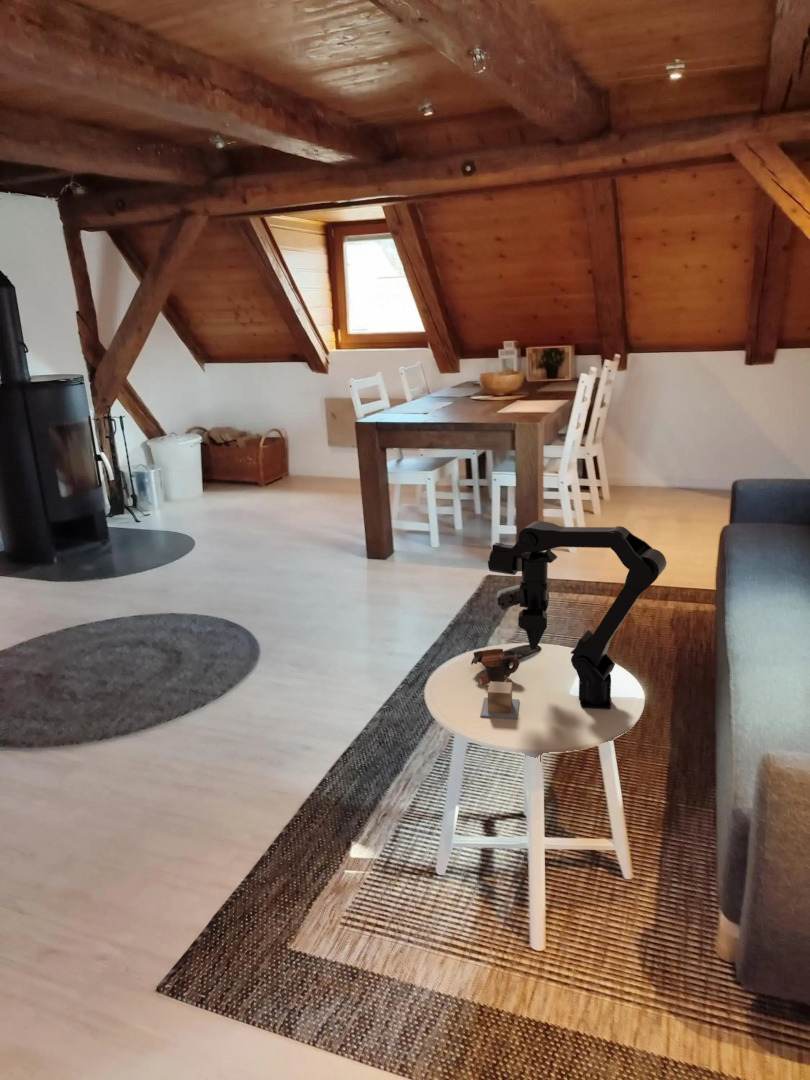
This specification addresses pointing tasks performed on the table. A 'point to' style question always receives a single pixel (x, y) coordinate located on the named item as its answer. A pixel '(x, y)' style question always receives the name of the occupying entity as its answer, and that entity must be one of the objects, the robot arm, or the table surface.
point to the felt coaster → (500, 715)
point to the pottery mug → (495, 665)
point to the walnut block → (500, 697)
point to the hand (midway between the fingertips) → (534, 640)
